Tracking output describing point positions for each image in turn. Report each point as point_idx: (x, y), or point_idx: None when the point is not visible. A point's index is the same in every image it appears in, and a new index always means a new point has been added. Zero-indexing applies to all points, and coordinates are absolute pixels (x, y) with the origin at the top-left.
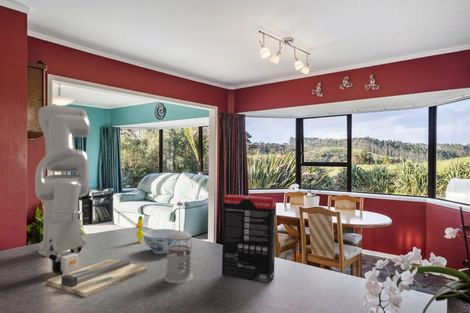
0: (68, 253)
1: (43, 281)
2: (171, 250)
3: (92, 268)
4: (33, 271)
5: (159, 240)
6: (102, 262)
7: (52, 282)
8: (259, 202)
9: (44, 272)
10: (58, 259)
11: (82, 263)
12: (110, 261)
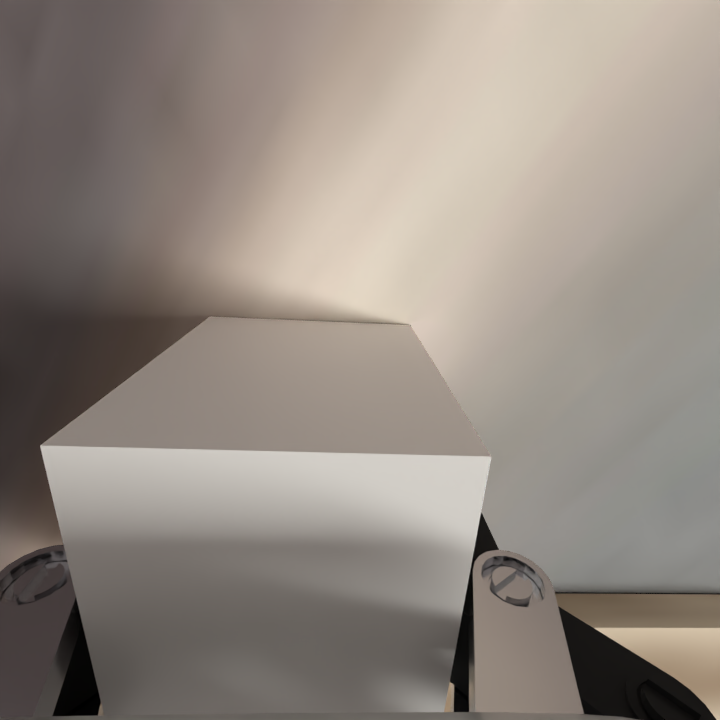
0: (359, 691)
1: (16, 510)
2: None
3: (447, 695)
4: (57, 44)
5: None
6: (638, 646)
7: None
8: None
9: (150, 256)
10: (97, 693)
11: (623, 383)
12: (691, 676)
